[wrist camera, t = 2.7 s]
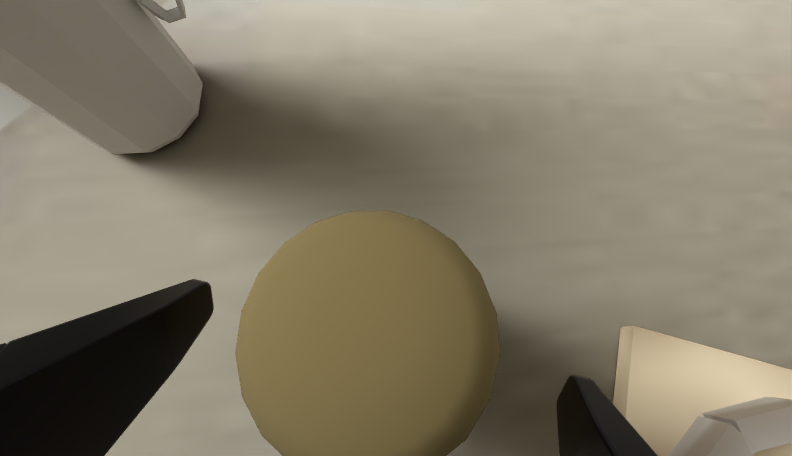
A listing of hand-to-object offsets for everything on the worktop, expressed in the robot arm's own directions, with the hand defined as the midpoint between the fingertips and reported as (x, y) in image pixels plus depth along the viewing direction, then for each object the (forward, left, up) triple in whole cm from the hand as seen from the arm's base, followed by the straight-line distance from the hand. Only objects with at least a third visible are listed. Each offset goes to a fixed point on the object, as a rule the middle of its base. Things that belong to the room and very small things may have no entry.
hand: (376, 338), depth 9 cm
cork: (0, 0, -8) cm, 8 cm away
